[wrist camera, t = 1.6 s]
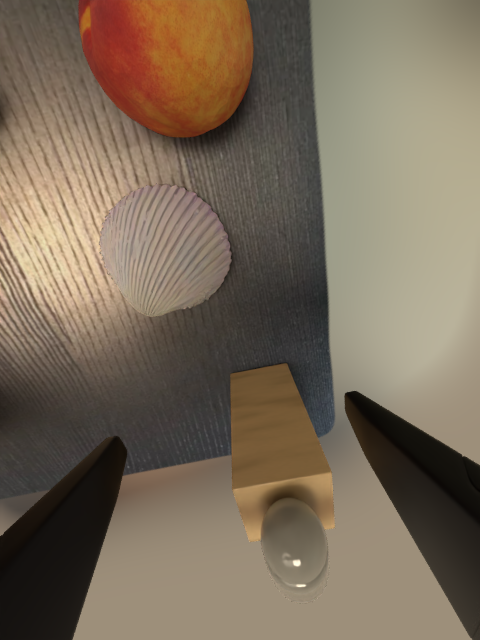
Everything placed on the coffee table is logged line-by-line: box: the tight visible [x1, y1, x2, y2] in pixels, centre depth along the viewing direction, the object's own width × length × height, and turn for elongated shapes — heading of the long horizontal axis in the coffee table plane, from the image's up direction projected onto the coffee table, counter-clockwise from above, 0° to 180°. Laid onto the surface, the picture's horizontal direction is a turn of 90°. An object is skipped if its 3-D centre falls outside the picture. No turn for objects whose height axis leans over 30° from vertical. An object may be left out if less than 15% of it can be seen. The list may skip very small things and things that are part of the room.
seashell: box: [99, 183, 232, 317], centre depth 18 cm, size 10×6×10 cm
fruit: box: [79, 0, 253, 137], centre depth 12 cm, size 8×8×8 cm
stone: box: [260, 497, 329, 604], centre depth 13 cm, size 6×4×4 cm, turn 11°
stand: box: [230, 363, 335, 542], centre depth 20 cm, size 6×6×12 cm
